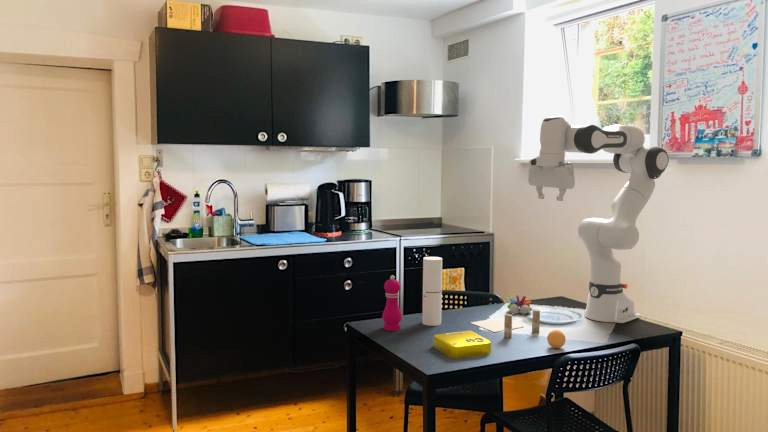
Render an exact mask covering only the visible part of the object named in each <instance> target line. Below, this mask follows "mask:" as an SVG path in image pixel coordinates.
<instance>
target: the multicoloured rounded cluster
mask: <svg viewBox="0 0 768 432" xmlns="http://www.w3.org/2000/svg"><path fill="white" fill-rule="evenodd" d="M515 297H516V300H515V299H514V298H512V297H510V298H509V301H510V303H509V304H507V307H506V308H507V309H508V310H509V312H510V313H511V315H512V314H513V315H517V314H518V313H520V314H521V315H523V314H526V313H528V314H529V313H530V312H531V311H533V309H532V307H531V303H532V301H531V300H526V298H527V296H526V295H523V296H522V297H521V299H520V296H519V295H518V294H516V296H515ZM526 315H527V314H526Z"/></svg>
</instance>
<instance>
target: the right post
mask: <svg viewBox="0 0 768 432" xmlns="http://www.w3.org/2000/svg"><path fill="white" fill-rule="evenodd" d="M531 320H532V321H531V333H532V332H533V334H539V333H540V322H541V310H540V309H532V319H531Z"/></svg>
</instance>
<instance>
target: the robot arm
mask: <svg viewBox="0 0 768 432" xmlns="http://www.w3.org/2000/svg"><path fill="white" fill-rule="evenodd" d="M645 141H646V139H645V134H644V132H643V130H641V129H640V128H638V127H635V126H632V125H628V124H627V125H626V124H612V125H609V126H604V127H603V129H602V128H601V127H599V126H598V125H595V124H586V125H573V124H571V123H569V122H568V121H566V119H565V116H562V115H555V116H554V115H553V116H549V117H546V118H544V119H543V120H542V123H541V125H540V135H539V142H540V149H539V155H538V156H536V157H534V158H532V159H530V160H528V164H529V170H528V178H527V179H528V180H527V182H528V183H529V186H534V187H535V191H536V192H537V198H538V199H540V200H544V199H545V193H544V192H543V189H544V188H554V189H558V192H559V194H558V195H556V201H557V202H563V201H564V197H565V195H566V193H567V190H571V189H574V187H575V186H576V185H575V184H576V183H575V180H576V179H575V171H574V165H572V163H571V162H565V155H566V154H565V153H578V154H579V153H582V154H583V153H584V154H590V155H591V154H596V153H597V152H599V151H600V150H603V152H606V153H609V154H613V158H612V163H613V166H614V168H615V170H617V171H618V172H620V173H625V174H630V176H629V179H628V180H627V182H626V183H625V184H624V185H623V187H621V189H620V190H619V191H618V193H617V194H616V196H615V197H614V199H613V200H612V201H611V204H610V207H611V208H610V209H611V211H612V214H613V216H612V217H611V218H601V217H590V218H589V217H588V218H583V220H581V222H579V226H578V227H577V236H578V237H579V239H580V240H581V241H582V243H583V244H584V245H585V248H586V250H587V252H588V255H589V259H590V260H589V261H590V280H589V283H588V291H589V292H588V295H587V300H586V305H585V306H586V307H585V309H584V317H585V318H587V319H589V320H593V321H597V322H602V323H603V322H604V323H618V324H625V323H627V322H631V321H633V320H635V319H639V318H641V313H639V312H637V311H635V302H634V301H633V299H631V297H629V296H628V295H626V293H625V292H624V289H625V290H627V289H628V283H624V282H622V283H621V272H622V271H621V269H622V265H621V262H620V261H619V259H618V258H617V257H616V256H615V255H614V252H613V250H617V251H618V250H619V251H620V250H621V251H623V250H624V251H625V250H632V249H633V248H634V247H636V246H637V244H638V242H639V241H640V233H639V230H638V228H637V225H636V223H637V219H638V217H639V215H640V214H641V213H642V211H643V209H644V208H645V206H646V205H647V203H648V201H649V200H650V198H651V197H652V195H653V192H654V190H655V189H656V181H655V180H656V179H658V178H660V177H661V175H662V174H663V173H664V172H665V170H666V169H667V167H668V166H669V161H670V160H669V159H670V158H669V154H668V152H667V151H666V149H664V148H661V147H657V146H648V145H644V143H645Z"/></svg>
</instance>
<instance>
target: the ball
mask: <svg viewBox="0 0 768 432" xmlns="http://www.w3.org/2000/svg"><path fill="white" fill-rule="evenodd" d="M546 337H547V338H546V341H547V343H548V345H549V346H550V347H551V348H554V349H561V348H562V347H563V346H564V345H565V344H566V340H567V339H566V335H565V333H564V332H562V331H561V330H558V329H555V330H552V331H550V332H548V335H547V336H546Z"/></svg>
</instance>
